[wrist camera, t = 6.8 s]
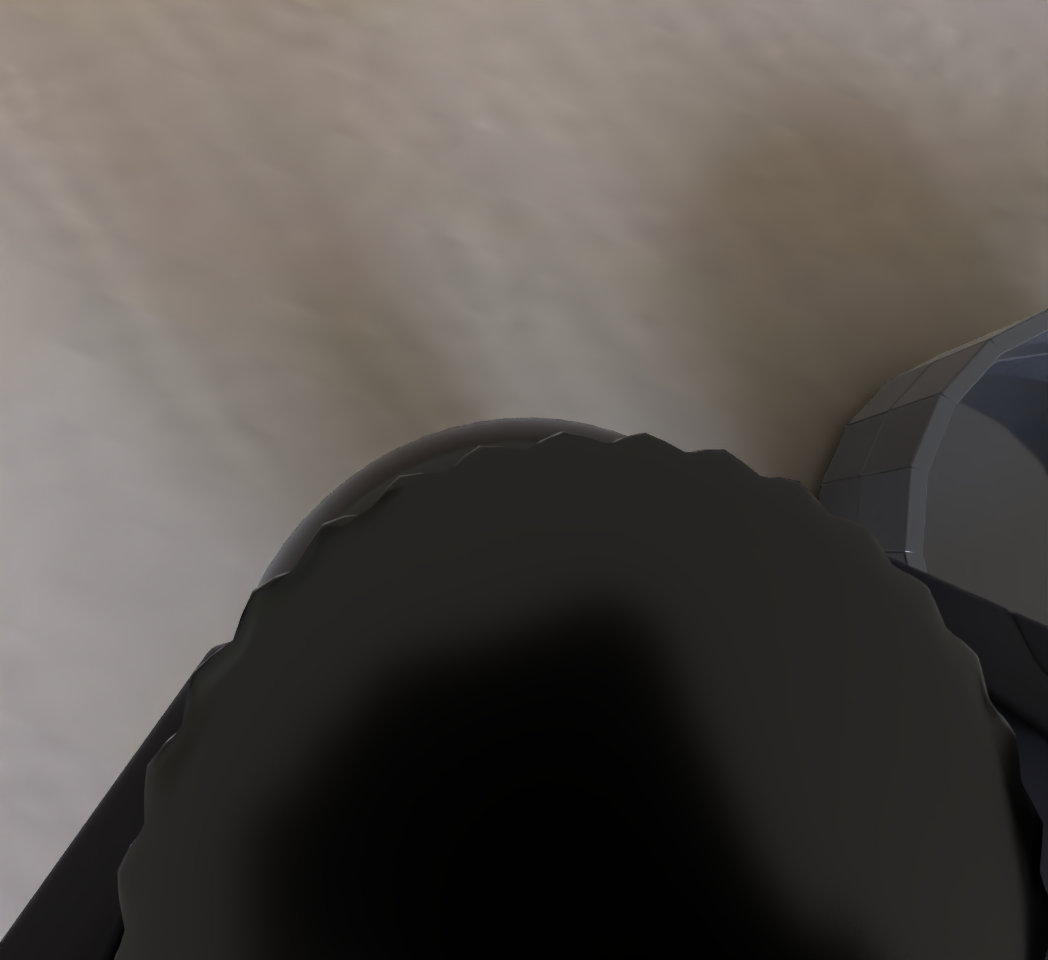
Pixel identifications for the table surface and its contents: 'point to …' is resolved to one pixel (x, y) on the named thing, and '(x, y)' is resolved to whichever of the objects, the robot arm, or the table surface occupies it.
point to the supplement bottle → (584, 730)
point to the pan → (958, 467)
